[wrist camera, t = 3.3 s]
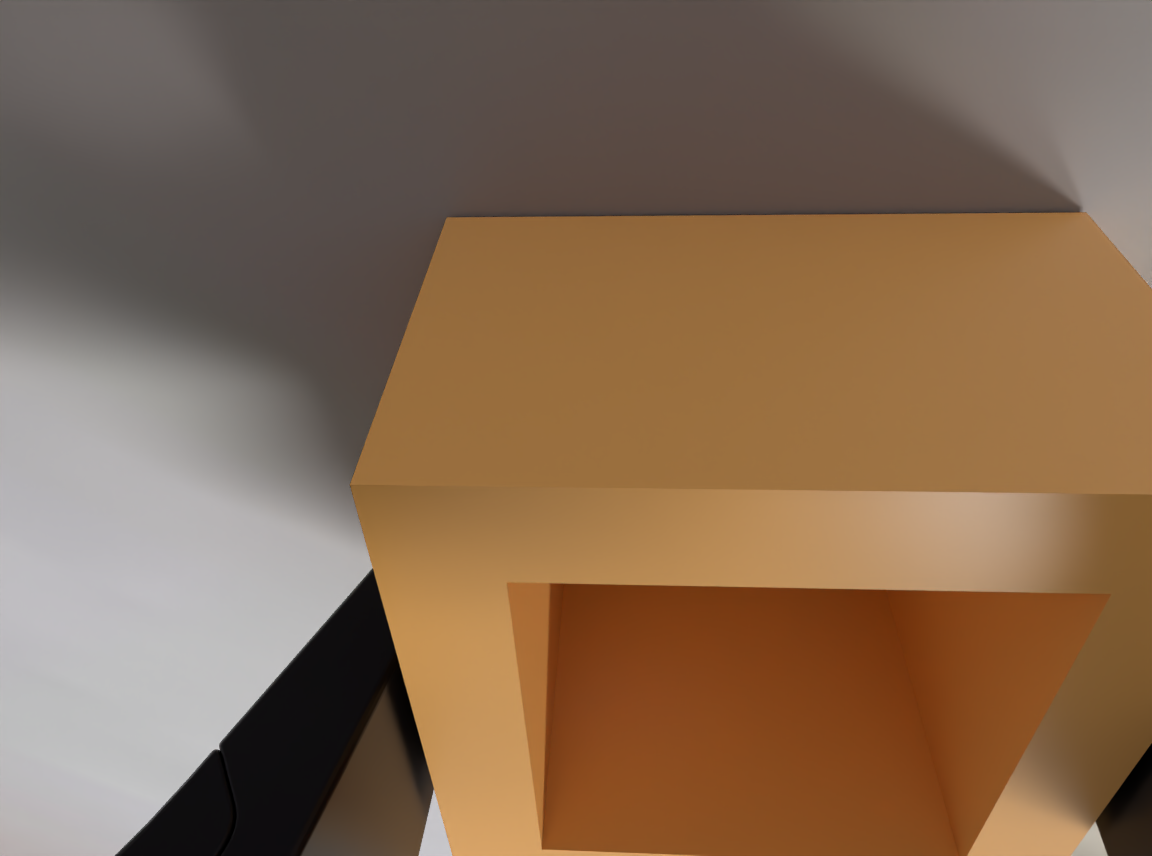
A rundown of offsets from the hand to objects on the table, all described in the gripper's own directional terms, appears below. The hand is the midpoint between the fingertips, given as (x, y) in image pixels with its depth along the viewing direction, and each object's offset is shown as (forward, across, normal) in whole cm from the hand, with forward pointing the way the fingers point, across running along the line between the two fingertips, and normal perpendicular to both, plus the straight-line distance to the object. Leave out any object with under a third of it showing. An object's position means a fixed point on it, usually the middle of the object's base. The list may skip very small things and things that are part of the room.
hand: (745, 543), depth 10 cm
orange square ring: (+2, 0, 0) cm, 2 cm away
